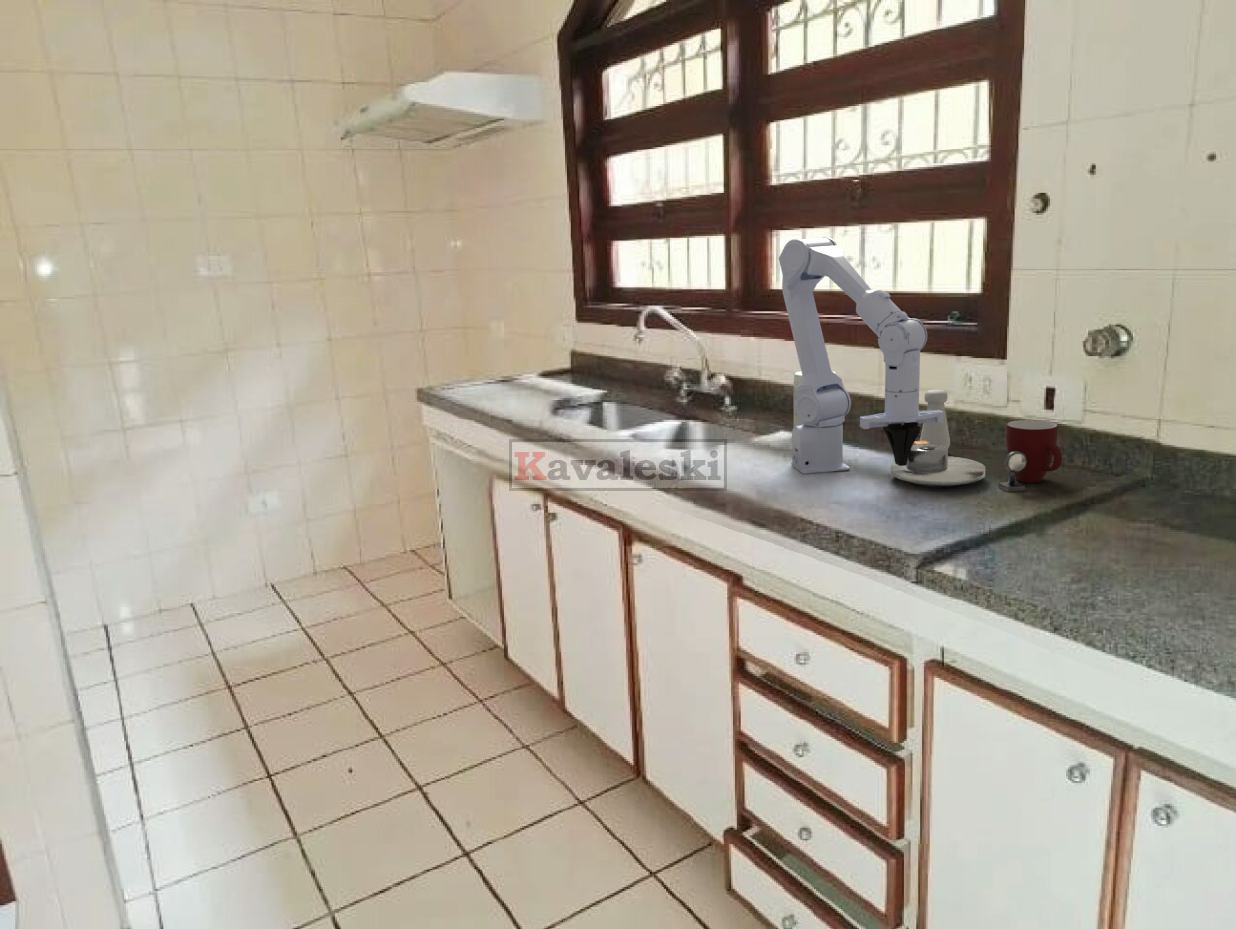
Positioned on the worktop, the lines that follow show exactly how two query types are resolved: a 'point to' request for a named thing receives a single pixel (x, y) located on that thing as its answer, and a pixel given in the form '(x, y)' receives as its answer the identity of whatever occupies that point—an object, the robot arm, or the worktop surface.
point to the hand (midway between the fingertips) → (900, 464)
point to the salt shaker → (934, 430)
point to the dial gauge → (1014, 471)
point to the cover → (927, 458)
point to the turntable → (943, 472)
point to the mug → (1034, 447)
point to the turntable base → (937, 485)
